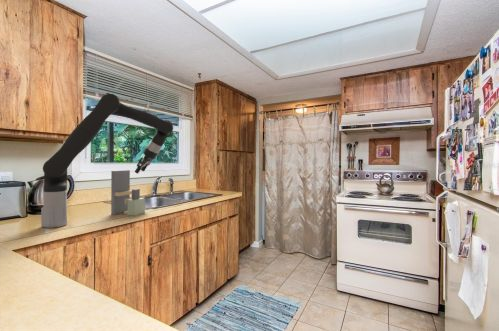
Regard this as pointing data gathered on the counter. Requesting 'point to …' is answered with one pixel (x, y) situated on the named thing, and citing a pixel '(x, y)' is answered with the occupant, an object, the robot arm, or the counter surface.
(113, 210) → the wall board
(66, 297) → the counter surface
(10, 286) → the counter surface
